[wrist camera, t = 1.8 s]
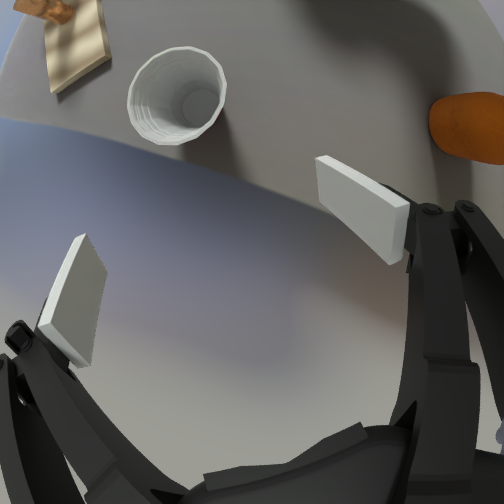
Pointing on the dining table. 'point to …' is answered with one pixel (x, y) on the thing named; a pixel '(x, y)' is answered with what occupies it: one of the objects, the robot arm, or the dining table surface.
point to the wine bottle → (470, 126)
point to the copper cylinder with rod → (46, 10)
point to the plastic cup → (176, 95)
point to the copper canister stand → (76, 44)
